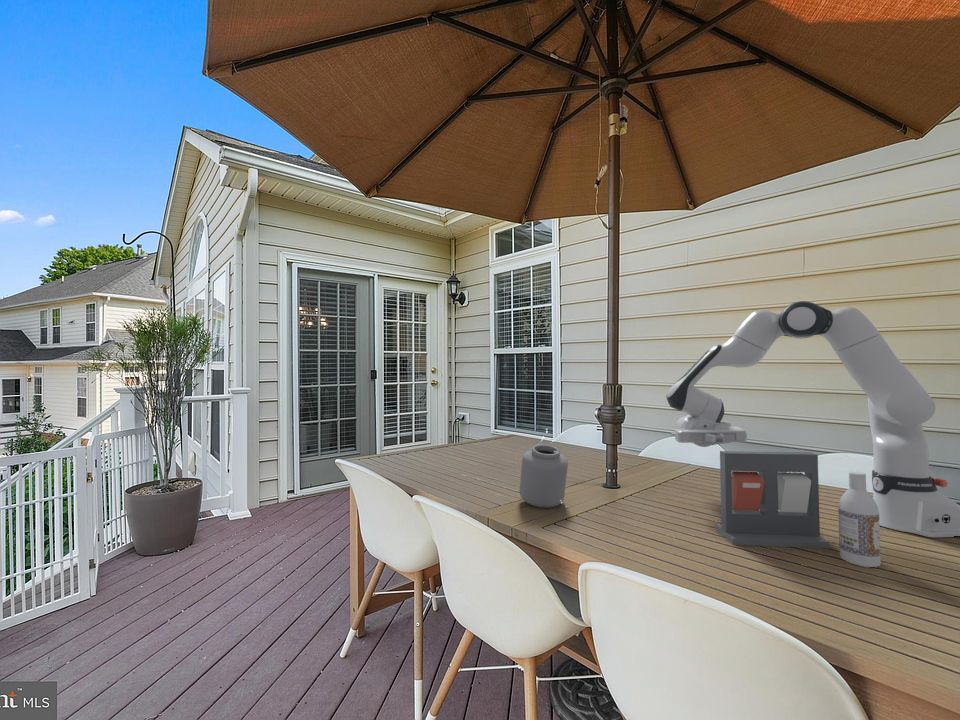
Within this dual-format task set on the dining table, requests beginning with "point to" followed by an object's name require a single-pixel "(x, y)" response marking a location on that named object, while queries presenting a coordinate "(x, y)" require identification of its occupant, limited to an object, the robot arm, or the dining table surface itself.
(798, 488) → the grey rocker
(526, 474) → the jar
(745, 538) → the switch panel
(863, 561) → the bath foam
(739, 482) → the red rocker
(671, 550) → the dining table surface
